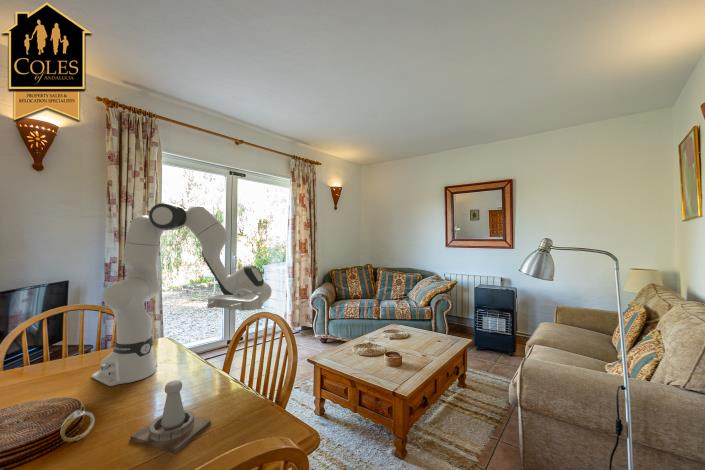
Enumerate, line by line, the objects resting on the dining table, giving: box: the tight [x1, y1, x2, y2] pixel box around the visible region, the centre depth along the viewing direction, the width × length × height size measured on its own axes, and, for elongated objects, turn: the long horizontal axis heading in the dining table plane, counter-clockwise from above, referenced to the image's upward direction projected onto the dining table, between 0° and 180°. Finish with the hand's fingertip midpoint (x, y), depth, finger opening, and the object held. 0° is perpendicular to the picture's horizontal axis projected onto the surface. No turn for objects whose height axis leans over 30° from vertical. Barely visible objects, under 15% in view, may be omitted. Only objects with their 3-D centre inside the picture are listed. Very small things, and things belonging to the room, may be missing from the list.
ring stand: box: [129, 409, 212, 454], centre depth 84 cm, size 16×12×3 cm
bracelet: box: [59, 408, 96, 443], centre depth 81 cm, size 7×3×8 cm, turn 144°
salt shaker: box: [161, 379, 185, 431], centre depth 84 cm, size 6×6×13 cm
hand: (219, 307), depth 107 cm, fingers open, 8 cm apart
